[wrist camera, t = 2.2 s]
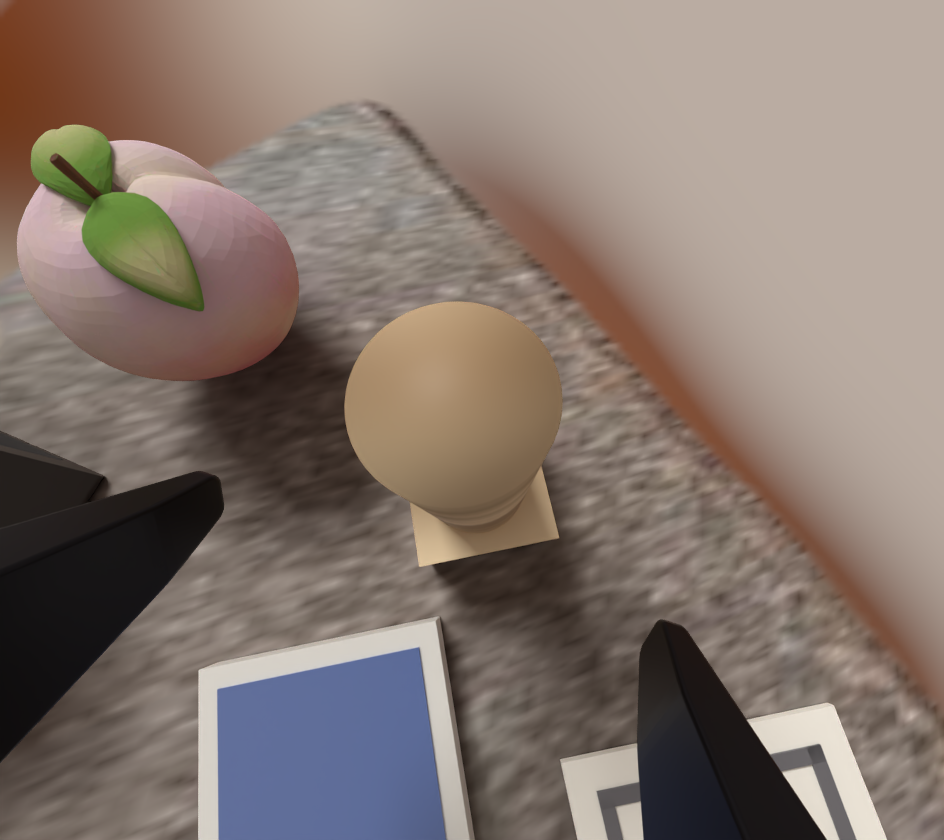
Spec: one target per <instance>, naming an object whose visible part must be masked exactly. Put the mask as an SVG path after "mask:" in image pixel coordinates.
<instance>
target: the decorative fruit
mask: <svg viewBox="0 0 944 840" xmlns="http://www.w3.org/2000/svg"><path fill="white" fill-rule="evenodd" d="M31 169H32V171H33V174H34V176H35V177H36V178H37V179H38V181H39V182H40V183H41V185H40V187H39V188H38V189H37V191H36V192H35V194H34V196H33V197H32V199H31V201H30V202H29V204H28V206H27V208H26V210H25V213H24V215H23V218H22V220H21V223H20V226H19V229H18V237H17V254H18V260H19V265H20V270H21V273H22V276H23V278H24V281H25V283H26V285H27V287H28V289H29V291H30V293H31V295H32V296H33V298H34V299H35V301H36V302H37V304H38V305H39V307H40V308H41V309H42V311H43V312H44V313H45V314H46V315H47V316H48V318H49V319H50V320H51V321H52V322H53V323H54V324H55V325H56V326H57V327H58V328H59V329H60V330H61V331H62V332H63V333H64V334H65V335H66V336H67V337H68V338H69V339H70V340H72V341H73V342H74V343H75V344H76V345H77V346H78V347H79V348H81V349H82V350H84V351H85V352H87V353H88V354H89V355H91V356H93V357H94V358H96V359H98V360H100V361H102V362H104V363H106V364H108V365H109V366H112V367H114V368H117V369H119V370H122V371H125V372H127V373H130V374H134V375H138V376H142V377H147V378H152V379H160V380H171V381H194V380H203V379H209V378H214V377H219V376H223V375H227V374H231V373H234V372H237V371H240V370H243V369H245V368H247V367H249V366H251V365H254V364H255V363H257V362H258V361H260V360H262V359H263V358H265V357H266V356H268V355H269V354H270V353H271V352H272V351H274V350H275V349H276V348H277V347H278V346H279V344H280V343H281V342H282V341H283V340H284V338H285V337H286V335H287V334H288V332H289V330H290V328H291V326H292V323H293V321H294V318H295V315H296V311H297V306H298V299H299V281H298V272H297V268H296V263H295V260H294V256H293V253H292V251H291V249H290V247H289V245H288V242H287V240H286V238H285V236H284V235H283V234H282V232H281V231H280V229H279V228H278V226H277V225H276V223H275V222H274V221H273V220H272V219H271V218H270V217H269V216H268V215H267V214H266V213H264V212H263V211H262V210H260V209H259V208H258V207H256V206H255V205H253V204H252V203H251V202H249V201H248V200H246V199H244V198H243V197H241V196H240V195H238V194H236V193H234V192H232V191H230V190H228V189H226V188H225V187H224V186H223V185H222V184H221V182H220V181H219V180H218V179H217V178H216V177H215V176H214V175H213V174H211V173H210V172H208V171H207V170H206V169H204V168H203V167H202V166H200V165H199V164H197V163H196V162H195V161H193V160H192V159H189V158H188V157H186V156H184V155H183V154H181V153H178V152H176V151H174V150H171V149H169V148H166V147H163V146H160V145H157V144H153V143H148V142H144V141H132V140H121V141H111V142H108V140H107V138H106V137H105V136H104V135H103V134H102V133H101V132H99V131H97V130H95V129H93V128H90V127H86V126H82V125H67V126H64V127H61V128H60V129H58V130H55V129H52V130H49V131H47V132H45V133H44V134H43V135H42V136H41V137H40V138H39V139H38V140H37V142H36V143H35V145H34V146H33V149H32V154H31Z"/></svg>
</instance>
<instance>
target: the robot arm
mask: <svg viewBox="0 0 944 840" xmlns="http://www.w3.org/2000/svg"><path fill="white" fill-rule="evenodd" d="M223 510H224V501H223V494H222V488H221V482H220V479H219V478H218V477H217V476H215V475H212V474H209V473H206V472H203V471H196V472H192V473H189V474H185V475H182V476H178V477H175V478H171V479H168V480H165V481H161V482H158V483H154V484H151V485H148V486H144V487H141V488H137V489H134V490H130V491H127V492H124V493H120V494H117V495H113V496H110V497H106V498H103V499H100V500H96V501H93V502H89V503H86V504H83V505H79V506H76V507H72V508H69V509H65V510H62V511H59V512H55V513H52V514H48V515H45V516H41V517H38V518H35V519H31V520H28V521H24V522H21V523H17V524H14V525H11V526H7V527H4V528H0V763H1V762H2V761H3V759H4V758H5V757H6V756H7V755H8V754H9V753H10V752H11V751H12V750H13V749H14V748H15V747H16V746H17V745H18V743H19V742H20V741H21V740H22V739H23V738H24V737H25V736H26V735H27V734H28V733H29V732H30V731H31V730H32V728H33V727H34V726H35V725H36V724H37V723H38V722H39V721H40V720H41V719H42V718H43V717H44V716H45V715H46V714H47V712H48V711H49V710H50V709H51V708H52V707H53V706H54V705H55V704H56V703H57V702H58V701H59V700H60V699H61V697H62V696H63V695H64V694H65V693H66V692H67V691H68V690H69V689H70V688H71V687H72V686H73V685H74V684H75V682H76V681H77V680H78V679H79V678H80V677H81V676H82V675H83V674H84V673H85V672H86V671H87V670H88V669H89V668H90V666H91V665H92V664H93V663H94V662H95V661H96V660H97V659H98V658H99V657H100V656H101V655H102V654H103V653H104V651H105V650H106V649H107V648H108V647H109V646H110V645H111V644H112V643H113V642H114V641H115V640H116V639H117V638H118V636H119V635H120V634H121V633H122V632H123V631H124V630H125V629H126V628H127V627H128V626H129V625H130V624H131V623H132V622H133V620H134V619H135V618H136V617H137V616H138V615H139V614H140V613H141V612H142V611H143V610H144V609H145V608H146V607H147V605H148V604H149V603H150V602H151V601H152V600H153V599H154V598H155V597H156V596H157V595H158V594H159V593H160V592H161V590H162V589H163V588H164V587H165V586H166V585H167V584H168V583H169V582H170V580H171V579H172V578H173V577H174V576H175V574H176V573H177V572H178V571H179V570H180V568H181V567H182V566H183V564H184V563H185V562H186V561H187V559H188V558H189V557H190V556H191V554H192V553H193V552H194V550H195V549H196V548H197V547H198V545H199V544H200V543H201V541H202V540H203V539H204V538H205V536H206V535H207V534H208V532H209V531H210V530H211V529H212V527H213V526H214V525H215V523H216V522H217V521H218V520H219V518H220V517H221V515H222V513H223ZM637 757H638V773H639V786H640V800H641V813H642V826H643V840H827V839H826V837H825V836H824V834H823V833H822V831H821V830H820V828H819V827H818V825H817V824H816V822H815V821H814V819H813V818H812V816H811V815H810V813H809V812H808V811H807V809H806V808H805V806H804V805H803V803H802V802H801V800H800V799H799V797H798V796H797V794H796V793H795V791H794V790H793V788H792V787H791V785H790V784H789V782H788V781H787V779H786V778H785V776H784V775H783V773H782V772H781V770H780V769H779V767H778V766H777V764H776V763H775V761H774V760H773V758H772V757H771V755H770V754H769V752H768V751H767V749H766V748H765V746H764V745H763V743H762V742H761V740H760V739H759V737H758V736H757V734H756V733H755V731H754V730H753V728H752V727H751V725H750V724H749V722H748V721H747V719H746V718H745V716H744V715H743V713H742V712H741V710H740V709H739V707H738V706H737V704H736V703H735V701H734V700H733V698H732V697H731V696H730V694H729V693H728V691H727V690H726V688H725V687H724V685H723V684H722V682H721V681H720V679H719V678H718V676H717V675H716V673H715V672H714V670H713V669H712V667H711V666H710V664H709V663H708V661H707V660H706V658H705V657H704V655H703V654H702V652H701V651H700V649H699V648H698V646H697V645H696V643H695V642H694V640H693V639H692V637H691V636H690V634H689V633H688V631H687V630H686V629H685V628H684V627H683V626H681V625H679V624H676V623H672V622H669V621H666V620H659V621H657V622H656V624H655V625H654V627H653V629H652V630H651V632H650V633H649V635H648V637H647V638H646V640H645V642H644V643H643V645H642V648H641V651H640V657H639V689H638V725H637Z"/></svg>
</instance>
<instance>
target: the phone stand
mask: <svg viewBox="0 0 944 840" xmlns="http://www.w3.org/2000/svg"><path fill="white" fill-rule="evenodd" d="M103 477H104V476H103V475H101V474H99V473H97V472H94V471H92V470H90V469H88V468H85V467H83V466H81V465H78V464H76V463H74V462H71V461H69V460H67V459H64V458H62V457H60V456H57V455H55V454H53V453H50V452H48V451H46V450H44V449H41V448H39V447H37V446H33V445H30V443H27V442H25V441H23V440H20V439H18V438H16V437H13V436H11V435H9V434H7V433H4V432H2V431H0V528H4V527H7V526H11V525H14V524H17V523H21V522H24V521H28V520H31V519H35V518H38V517H41V516H45V515H48V514H52V513H55V512H59V511H62V510H65V509H69V508H72V507H76V506H79V505H83V504H86V503H87V502H88V500H89V499H90V497H91V496H92V494H93V493H94V491H95V489H96V488H97V486H98V485H99V483H100V481H101V480H102V478H103Z"/></svg>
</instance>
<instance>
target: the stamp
mask: <svg viewBox="0 0 944 840" xmlns="http://www.w3.org/2000/svg"><path fill="white" fill-rule="evenodd" d="M562 402H563V401H562V387H561V383H560V378H559V374H558V371H557V368H556V366H555V363H554V361H553V359H552V357H551V355H550V353H549V351H548V350H547V348H546V347H545V345H544V344H543V343H542V341H541V340H540V339H539V338H538V337H537V336H536V335H535V333H534V332H533V331H532V330H530V329H529V328H528V327H527V326H526V325H524V324H523V323H522V322H521V321H519V320H517V319H516V318H514V317H513V316H511V315H509V314H507V313H505V312H503V311H501V310H498V309H496V308H493V307H490V306H487V305H482V304H477V303H470V302H444V303H437V304H432V305H428V306H424V307H421V308H418V309H415V310H413V311H410V312H408V313H406V314H404V315H402V316H400V317H398V318H397V319H395V320H394V321H392V322H391V323H389V324H388V325H386V326H385V327H384V328H383V329H382V330H381V331H379V332H378V333H377V334H376V335H375V336H374V337H373V338H372V339H371V341H370V342H369V343H368V344H367V345H366V347H365V348H364V349H363V351H362V352H361V354H360V355H359V357H358V359H357V361H356V363H355V365H354V366H353V369H352V372H351V374H350V377H349V380H348V384H347V388H346V394H345V404H344V407H345V421H346V427H347V432H348V435H349V438H350V441H351V444H352V446H353V448H354V450H355V452H356V454H357V456H358V458H359V459H360V461H361V462H362V464H363V465H364V467H365V468H366V469H367V470H368V471H369V472H370V474H371V475H372V476H373V477H374V478H375V479H376V480H377V481H379V482H380V483H381V484H382V485H384V486H385V487H386V488H388V489H389V490H391V491H393V492H394V493H396V494H398V495H399V496H401V497H403V498H404V499H406V500H408V501H409V502H410V507H411V514H412V520H413V527H414V534H415V540H416V547H417V554H418V561H419V567H422V566H427V565H432V564H437V563H442V562H447V561H451V560H456V559H461V558H466V557H471V556H476V555H480V554H485V553H490V552H495V551H500V550H505V549H510V548H514V547H519V546H524V545H529V544H534V543H539V542H543V541H548V540H553V539H557V538H559V534H558V530H557V526H556V522H555V518H554V514H553V510H552V506H551V502H550V498H549V494H548V490H547V486H546V482H545V479H544V475H543V471H542V467H541V465H542V463H543V461H544V459H545V457H546V456H547V454H548V452H549V450H550V448H551V446H552V444H553V443H554V440H555V437H556V435H557V432H558V429H559V425H560V420H561V415H562Z"/></svg>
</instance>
